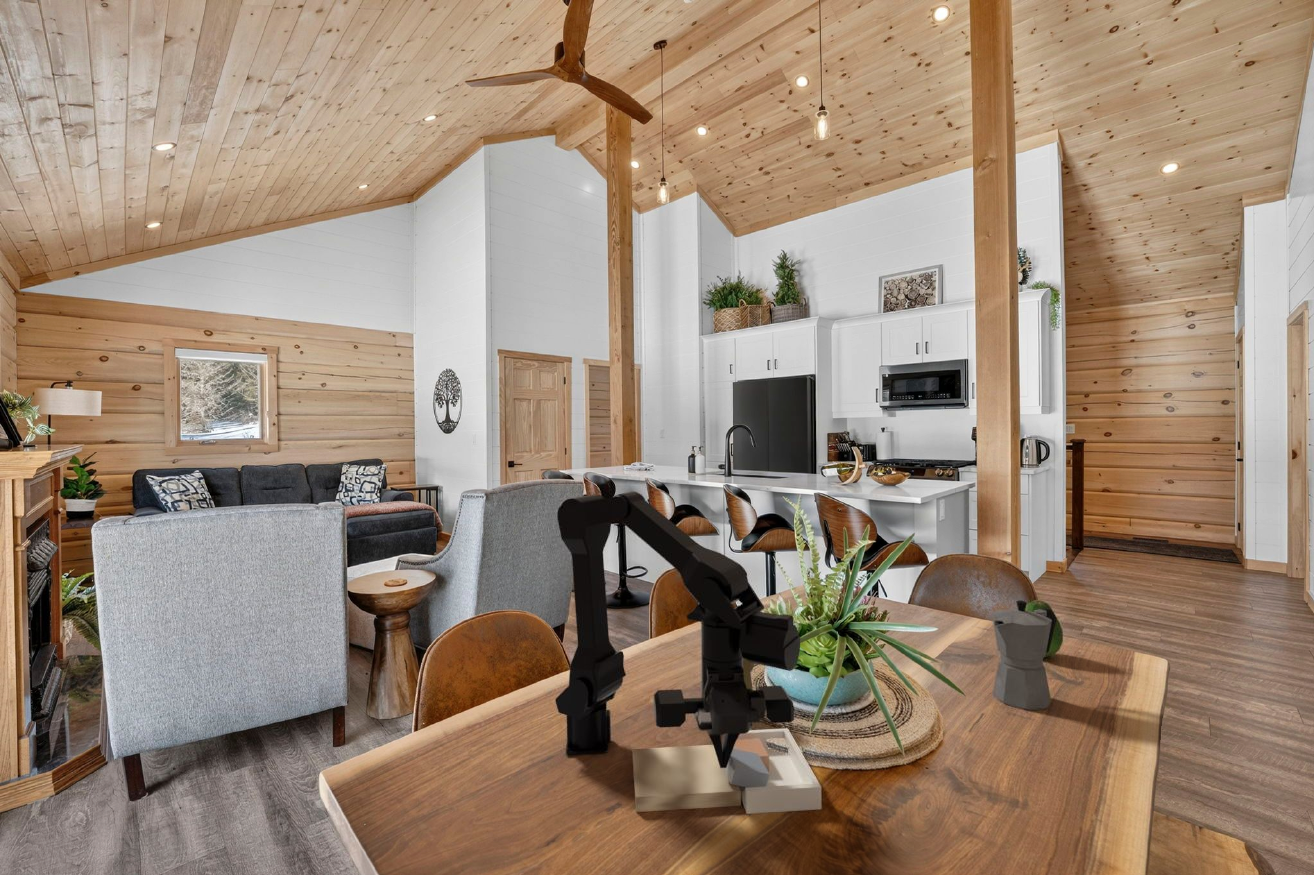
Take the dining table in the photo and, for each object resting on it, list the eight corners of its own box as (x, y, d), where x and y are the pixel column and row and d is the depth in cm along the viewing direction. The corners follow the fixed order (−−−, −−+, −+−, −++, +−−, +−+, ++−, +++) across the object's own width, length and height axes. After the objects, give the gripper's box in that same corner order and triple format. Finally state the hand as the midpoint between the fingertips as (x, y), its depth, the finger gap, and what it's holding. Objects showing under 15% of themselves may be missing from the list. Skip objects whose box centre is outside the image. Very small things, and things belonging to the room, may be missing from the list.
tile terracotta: (735, 774, 90) (735, 758, 90) (727, 756, 95) (727, 740, 95) (769, 771, 91) (768, 755, 90) (759, 753, 96) (759, 738, 95)
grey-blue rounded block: (730, 783, 84) (735, 767, 84) (721, 762, 89) (726, 746, 89) (764, 790, 85) (769, 774, 85) (753, 769, 90) (758, 753, 90)
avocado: (1011, 653, 135) (1011, 598, 134) (1034, 647, 138) (1035, 593, 138) (1047, 666, 128) (1048, 608, 127) (1071, 659, 131) (1072, 602, 131)
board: (635, 812, 82) (635, 797, 82) (632, 762, 94) (632, 749, 94) (740, 805, 83) (740, 790, 83) (724, 756, 95) (724, 744, 95)
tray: (746, 813, 82) (746, 791, 82) (724, 750, 97) (724, 731, 97) (821, 809, 82) (821, 786, 82) (787, 747, 98) (787, 728, 98)
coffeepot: (1020, 717, 106) (1020, 612, 106) (972, 695, 115) (972, 598, 115) (1079, 700, 112) (1080, 601, 112) (1030, 680, 121) (1030, 588, 121)
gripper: (658, 681, 77) (659, 805, 78) (806, 675, 79) (806, 798, 79) (653, 648, 89) (654, 757, 89) (782, 644, 90) (783, 752, 90)
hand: (722, 766), depth 86 cm, fingers closed
